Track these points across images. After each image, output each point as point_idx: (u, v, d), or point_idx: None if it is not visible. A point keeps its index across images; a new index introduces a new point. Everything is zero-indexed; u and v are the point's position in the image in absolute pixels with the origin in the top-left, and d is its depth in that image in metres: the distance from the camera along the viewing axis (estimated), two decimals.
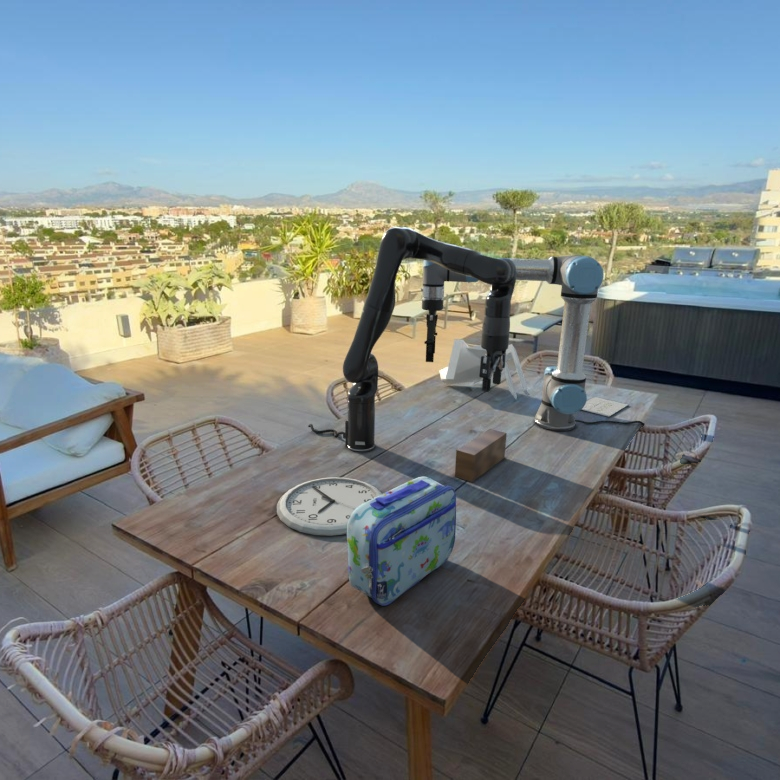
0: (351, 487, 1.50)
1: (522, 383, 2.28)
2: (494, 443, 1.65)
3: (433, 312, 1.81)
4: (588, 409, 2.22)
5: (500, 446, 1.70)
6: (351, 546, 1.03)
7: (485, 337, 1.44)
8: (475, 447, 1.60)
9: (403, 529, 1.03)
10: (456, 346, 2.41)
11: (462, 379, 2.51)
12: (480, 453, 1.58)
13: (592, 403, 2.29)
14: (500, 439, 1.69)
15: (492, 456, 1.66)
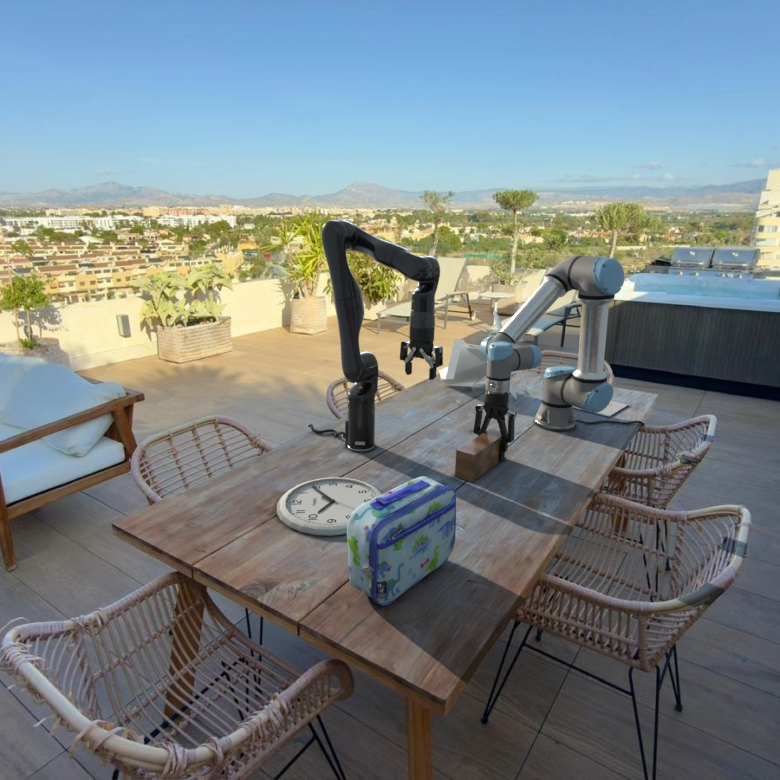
0: (351, 487, 1.50)
1: (522, 383, 2.28)
2: (494, 443, 1.65)
3: (507, 405, 1.66)
4: None
5: None
6: (351, 546, 1.03)
7: (428, 330, 1.54)
8: (475, 447, 1.60)
9: (403, 529, 1.03)
10: (456, 346, 2.41)
11: (462, 379, 2.51)
12: (480, 453, 1.58)
13: None
14: (500, 439, 1.69)
15: (492, 456, 1.66)
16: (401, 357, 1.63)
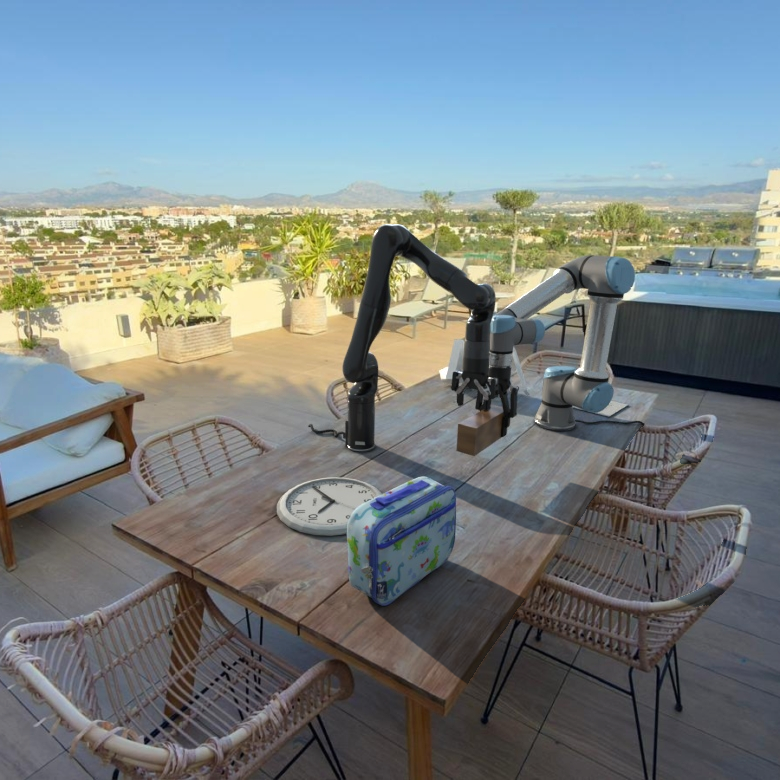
0: (351, 487, 1.50)
1: (522, 383, 2.28)
2: (496, 418, 1.63)
3: (509, 380, 1.64)
4: None
5: None
6: (351, 546, 1.03)
7: (484, 361, 1.47)
8: (477, 421, 1.58)
9: (403, 529, 1.03)
10: (456, 346, 2.41)
11: (462, 379, 2.51)
12: (482, 427, 1.55)
13: None
14: (502, 414, 1.66)
15: (494, 431, 1.63)
16: (453, 387, 1.56)
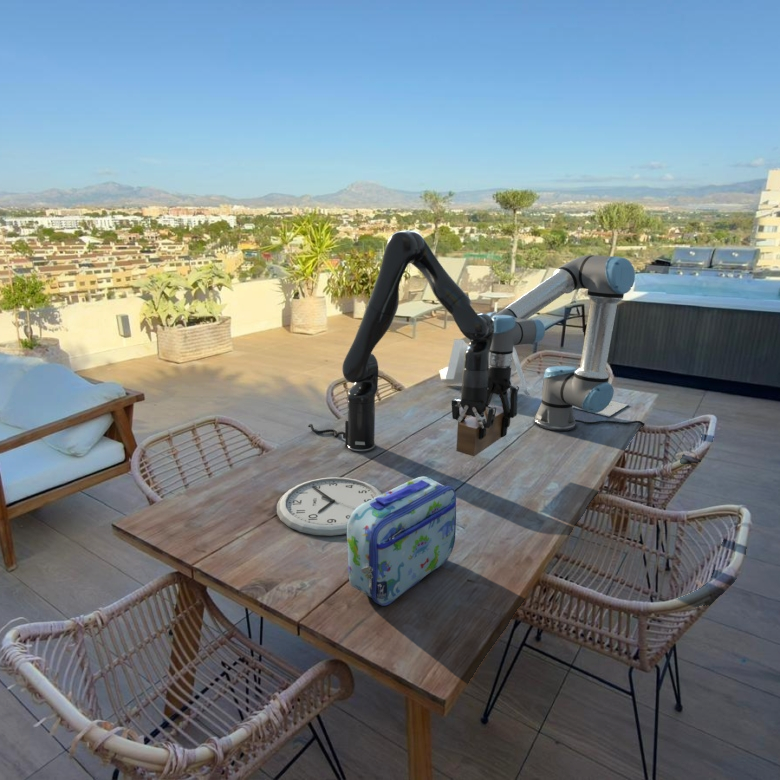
0: (351, 487, 1.50)
1: (522, 383, 2.28)
2: (496, 418, 1.63)
3: (509, 380, 1.64)
4: None
5: None
6: (351, 546, 1.03)
7: (482, 390, 1.50)
8: (477, 421, 1.58)
9: (403, 529, 1.03)
10: (456, 346, 2.41)
11: None
12: None
13: None
14: (502, 414, 1.66)
15: (494, 432, 1.63)
16: (454, 416, 1.58)
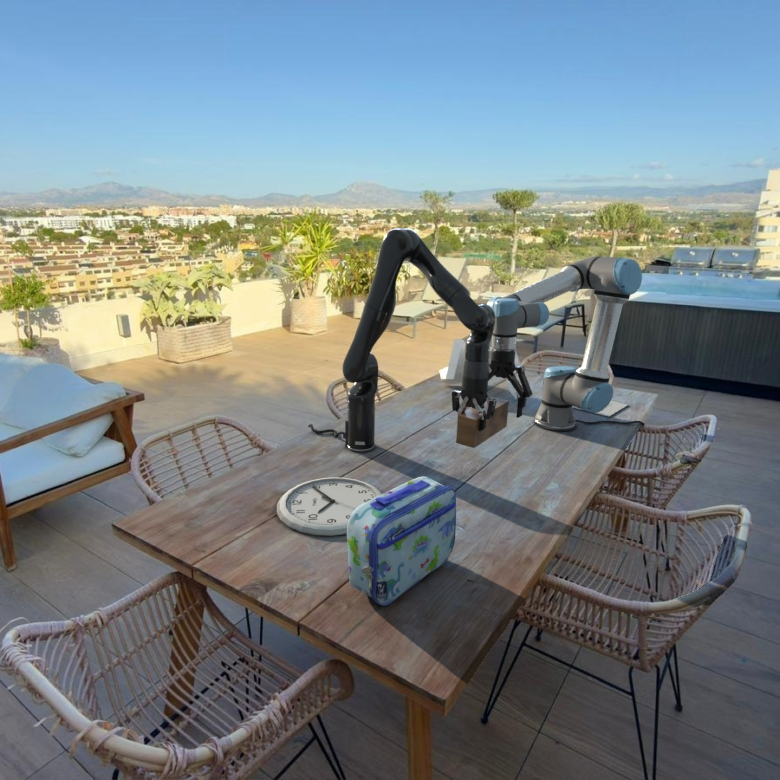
0: (351, 487, 1.50)
1: None
2: (496, 410, 1.62)
3: (514, 363, 1.64)
4: None
5: (503, 414, 1.67)
6: (351, 546, 1.03)
7: (483, 381, 1.49)
8: (477, 413, 1.57)
9: (403, 529, 1.03)
10: (456, 346, 2.41)
11: None
12: None
13: None
14: (502, 406, 1.65)
15: (494, 424, 1.63)
16: (454, 408, 1.57)
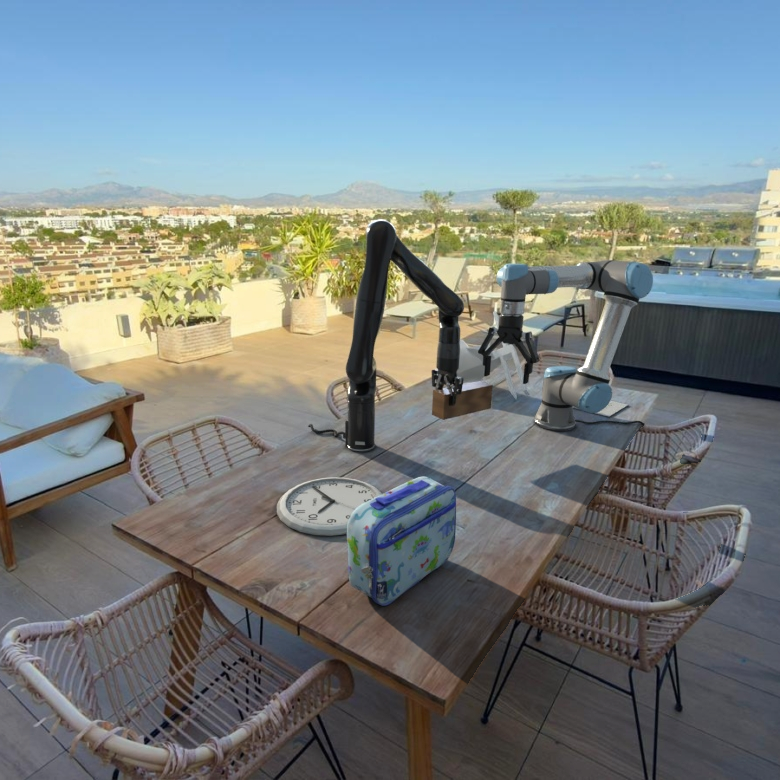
0: (351, 487, 1.50)
1: (522, 383, 2.28)
2: (474, 390, 1.81)
3: None
4: None
5: (484, 396, 1.84)
6: (351, 546, 1.03)
7: (451, 361, 1.70)
8: (452, 390, 1.78)
9: (403, 529, 1.03)
10: None
11: None
12: None
13: None
14: (483, 389, 1.83)
15: (471, 403, 1.81)
16: (433, 384, 1.80)
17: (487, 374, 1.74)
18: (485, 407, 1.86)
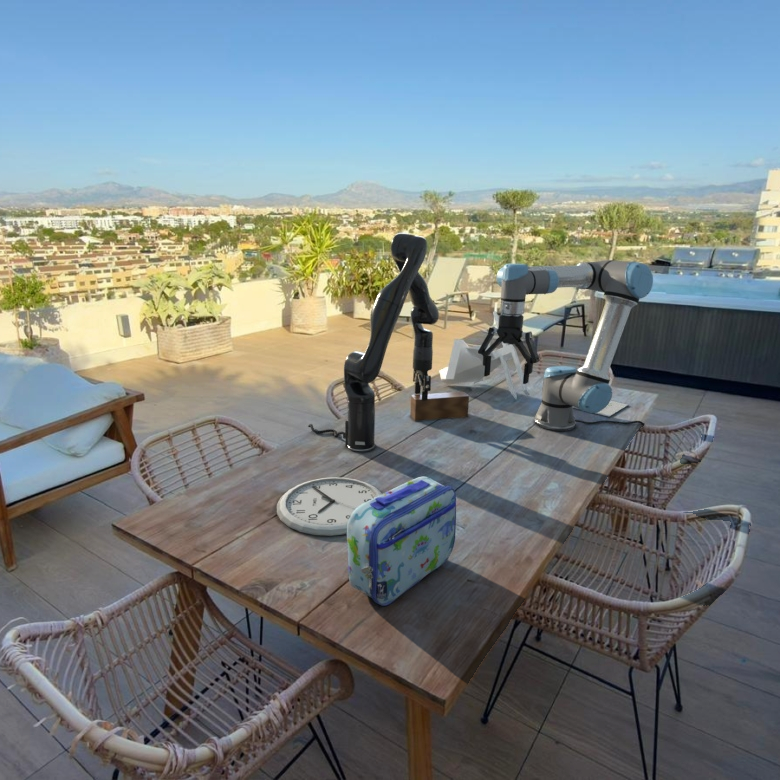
0: (351, 487, 1.50)
1: (522, 383, 2.28)
2: (448, 399, 2.07)
3: None
4: None
5: (460, 405, 2.09)
6: (351, 546, 1.03)
7: (421, 362, 1.99)
8: None
9: (403, 529, 1.03)
10: (456, 346, 2.41)
11: (462, 379, 2.51)
12: (425, 401, 2.04)
13: None
14: (458, 398, 2.08)
15: (445, 409, 2.08)
16: (413, 379, 2.11)
17: (487, 374, 1.74)
18: (461, 415, 2.11)
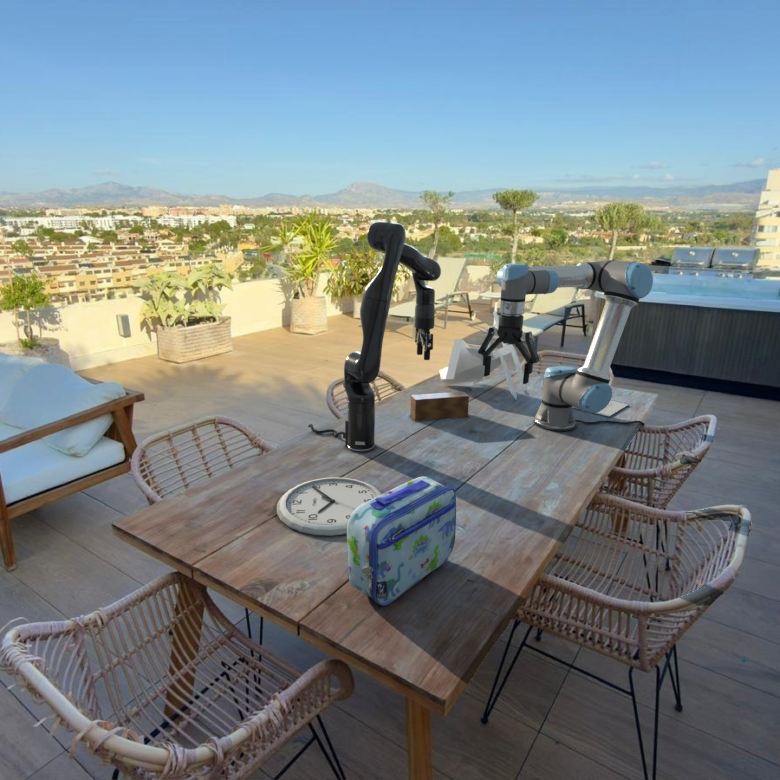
0: (351, 487, 1.50)
1: (522, 383, 2.28)
2: (448, 399, 2.07)
3: None
4: None
5: (460, 405, 2.09)
6: (351, 546, 1.03)
7: (423, 320, 1.94)
8: (427, 396, 2.07)
9: (403, 529, 1.03)
10: (456, 346, 2.41)
11: (462, 379, 2.51)
12: (425, 401, 2.04)
13: None
14: (458, 398, 2.08)
15: (445, 409, 2.08)
16: (415, 340, 2.06)
17: (487, 374, 1.74)
18: (461, 415, 2.11)
